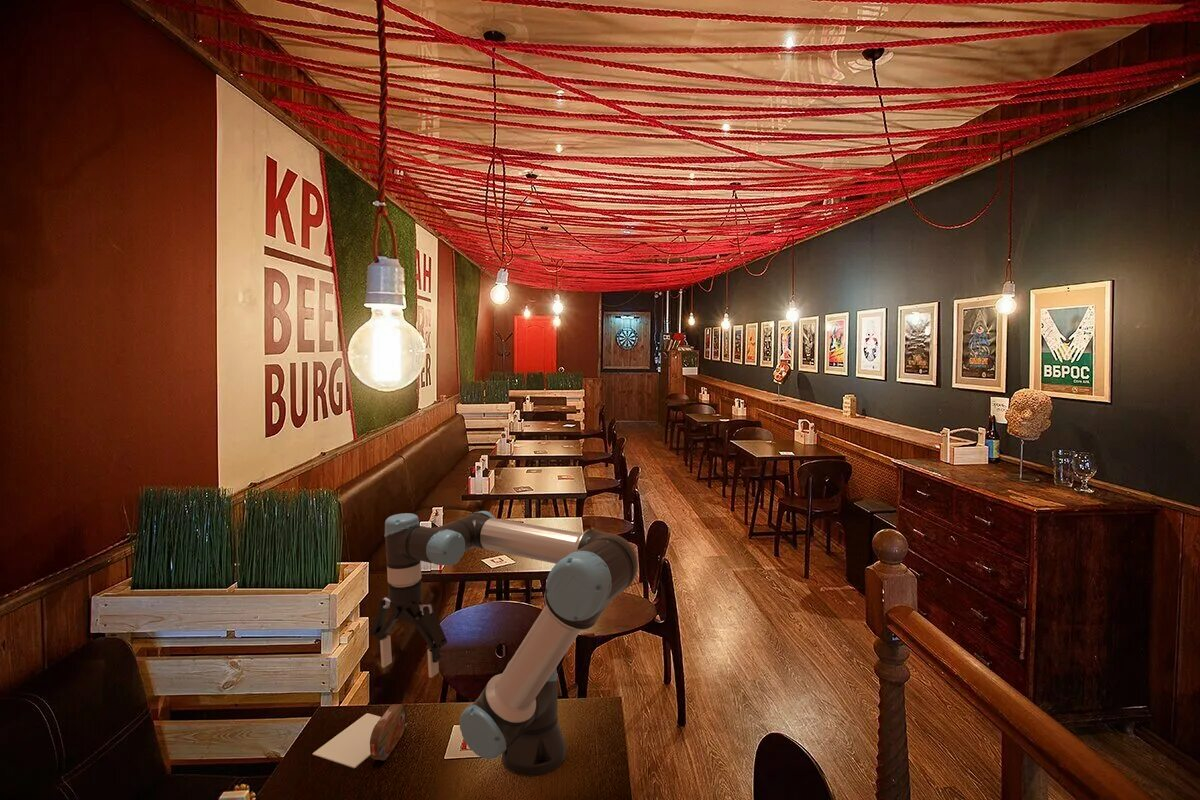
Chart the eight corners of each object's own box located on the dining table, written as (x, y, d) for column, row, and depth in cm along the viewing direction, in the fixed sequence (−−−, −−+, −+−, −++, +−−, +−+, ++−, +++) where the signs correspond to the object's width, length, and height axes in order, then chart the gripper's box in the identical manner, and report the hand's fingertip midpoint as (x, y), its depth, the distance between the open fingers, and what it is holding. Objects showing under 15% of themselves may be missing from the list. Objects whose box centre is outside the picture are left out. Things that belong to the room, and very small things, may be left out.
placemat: (406, 725, 167) (406, 724, 167) (354, 768, 151) (354, 767, 151) (367, 714, 172) (367, 713, 172) (312, 754, 156) (312, 753, 156)
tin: (380, 768, 150) (380, 734, 149) (367, 766, 151) (367, 733, 150) (407, 728, 165) (407, 697, 164) (395, 727, 166) (396, 696, 165)
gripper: (459, 582, 149) (464, 671, 151) (373, 569, 159) (378, 653, 161) (439, 594, 142) (444, 687, 144) (351, 580, 152) (356, 667, 154)
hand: (409, 669), depth 153 cm, fingers open, 13 cm apart
